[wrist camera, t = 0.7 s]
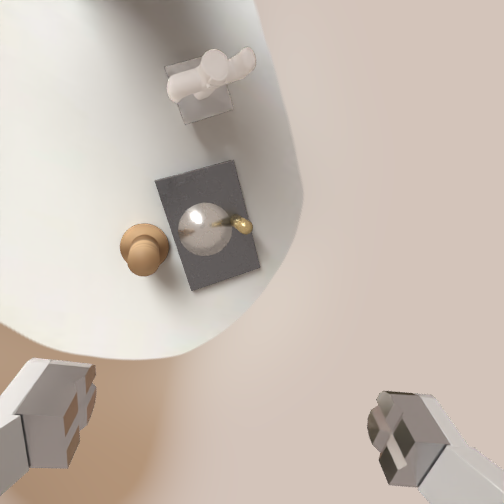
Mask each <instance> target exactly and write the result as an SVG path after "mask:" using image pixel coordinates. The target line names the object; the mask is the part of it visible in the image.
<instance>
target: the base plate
mask: <svg viewBox="0 0 504 504" xmlns="http://www.w3.org/2000/svg"><path fill="white" fill-rule="evenodd" d="M155 183H156V186H157V189H158V192H159V195H160V198H161V201H162V204H163V207H164V210H165V213H166V216H167V219H168V222H169V225H170V228H171V231H172V234H173V237H174V240H175V243H176V246H177V249H178V252H179V255H180V258H181V261H182V264H183V267H184V270H185V273H186V276H187V279H188V282H189V285H190V288H191V291H193V290H196V289H199V288H202V287H205V286H208V285H211V284H214V283H217V282H219V281H222V280H225V279H228V278H231V277H234V276H237V275H240V274H243V273H246V272H249V271H251V270H254V269H257V268H260V265H259V261H258V257H257V253H256V249H255V245H254V241H253V237H252V233H249V234H246V235H245V234H242V233H241V232H240V231H238V230H237V229H236V228H234V227H233V226H232V225H231V224H230V218H231V216H232V215H234V214H238V215H240V216H241V217H243V218H245V219H246V220H248V217H247V213H246V209H245V205H244V201H243V196H242V192H241V188H240V184H239V180H238V176H237V172H236V168H235V164H234V160H230V161H227V162H223V163H219V164H215V165H212V166H208V167H204V168H200V169H197V170H193V171H189V172H185V173H181V174H178V175H174V176H170V177H166V178H163V179H159V180H155Z"/></svg>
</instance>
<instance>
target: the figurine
mask: <svg viewBox="0 0 504 504" xmlns="http://www.w3.org/2000/svg"><path fill="white" fill-rule="evenodd" d="M255 66H256V57H255V54H254V52H253V50H252V49H251V48H249V47H245V48H243V49H242V50H241V51H240V52H239V53H238V54H237V55H235V56H234V57H232V58H230V59H227V57H226V55H225V54H224V53H223V52H221V51H220V50H217V49H211V50H208V51H206V52H205V53H204V55H203V56H201V57H197V58H194V59H190V60H187V61H183V62H179V63H176V64H172V65H169V66H165V67H164V68H165V71H166V74H167V76H168V79H169V80H168V83H167V93H168V96H169V98H170V99H171V100H172V101H173V102H175V103H177V104H178V107H179V110H180V113H181V116H182V118H183V121H184V124H185V125H187V124H190V123H193V122H196V121H199V120H203V119H206V118H209V117H212V116H215V115H218V114H222V113H225V112H228V111H231V110H234V107H233V104H232V100H231V97H230V94H229V90H228V87H227V84H228V83H231V82H234V81H238V80H241V79H243V78H245V77H246V76H247V75H248V74H250V73H251V72H252V71H253V70H254V68H255Z"/></svg>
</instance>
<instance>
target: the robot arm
mask: <svg viewBox="0 0 504 504" xmlns="http://www.w3.org/2000/svg"><path fill="white" fill-rule="evenodd" d="M95 376H96V369H95V365H93V364H86V363H77V362H68V361H60V360H49V359H39V358H32V359H31V360H29V361H28V362H26V364H25V365H24V366H23V368H22V369H21V370H20V371H19V373H18V374H17V375H16V377H15V378H14V379H13V380H12V382H11V383H10V384H9V386H8V387H7V388H6V389H5V391H4V392H3V393H2V395H1V396H0V496H1V495H2V494H3V493H4V492H5V491H6V490H8V489H9V488H10V487H11V486H12V485H13V484H14V483H15V482H17V480H19V479H20V478H21V477H22V476H23V475H24V474H25V473H26V472H28V471H29V468H68V467H69V465H70V462H71V460H72V458H73V456H74V453H75V451H76V449H77V447H78V445H79V442H80V435H79V434H80V433H79V431H80V430H81V429H83V428H84V427H85V426H86V425H87V424H88V422H89V419H90V417H91V414H92V411H93V408H94V404H95V398H96V386H95V385H94V384H93V383H92V382H93V380H94V378H95ZM376 400H377V403H378V406H377V407H375V408H373V409H372V410H371V412H370V414H369V416H368V425H367V429H368V433H369V437H370V440H371V442H372V445H373V446H374V447H375V448H376V449H377V450H378V451H379V452H380V457H379V462H380V464H381V467H382V469H383V472H384V474H385V477H386V479H387V481H388V484H389V485H395V486H406V487H407V486H408V487H418V490H419V491H420V493H421V494H422V495H423V496H424V497H425V498H426V500H427V501H428V502H429V503H430V504H504V470H503V469H501V468H500V467H499V466H498V465H497V464H495V463H494V462H493V461H491V460H490V459H489V458H487V457H486V456H485V455H484V454H482V453H481V452H480V451H478V450H477V449H476V448H474V447H469V446H468V444H467V443H466V441H465V440H464V438H463V437H462V435H461V434H460V433H459V431H458V430H457V428H456V427H455V425H454V424H453V422H452V421H451V419H450V418H449V416H448V415H447V414H446V412H445V411H444V409H443V408H442V406H441V405H440V403H439V402H438V400H437V399H436V398H435V397H434V396H432V395H427V394H413V393H405V392H392V391H382V392H381V393H379V395H378V397H377V399H376Z"/></svg>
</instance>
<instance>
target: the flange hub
mask: <svg viewBox="0 0 504 504" xmlns="http://www.w3.org/2000/svg"><path fill="white" fill-rule="evenodd" d="M120 251H121V254H122V257H123V258H124V260H125V261H126V262H127V263H128V267H129V269H130V270H131V271H132V272H133V273H134V274H136V275H138V276H149V275H151V274H153V273H154V272H155V271H156V270H157V269H158V267H159V265H160V264H161V263H162V262H163V261H164V260H165V258H166V257H167V255H168V251H169V244H168V240H167V237H166V235H165V234H164V232H163V231H162V230H161V229H159V228H158V227H156V226H154V225H151V224H137V225H134V226H132V227H131V228H129V229H128V230H127V231H126V232H125V233H124V235H123V237H122V239H121V243H120Z"/></svg>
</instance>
